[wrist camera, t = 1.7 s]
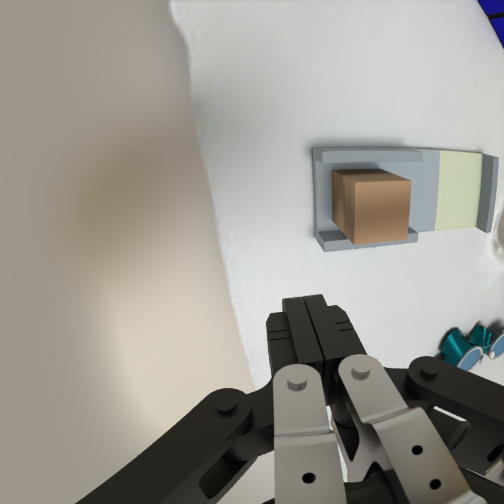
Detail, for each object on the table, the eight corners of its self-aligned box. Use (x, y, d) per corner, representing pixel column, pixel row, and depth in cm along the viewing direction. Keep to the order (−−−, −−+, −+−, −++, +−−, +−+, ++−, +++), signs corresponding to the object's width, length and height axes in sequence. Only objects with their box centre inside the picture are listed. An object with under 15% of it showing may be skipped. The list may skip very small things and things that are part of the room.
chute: (312, 148, 27) (322, 151, 24) (482, 153, 27) (501, 158, 24) (315, 238, 31) (324, 252, 27) (476, 223, 31) (493, 233, 28)
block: (331, 169, 27) (355, 182, 21) (380, 168, 27) (411, 180, 21) (332, 221, 29) (353, 245, 23) (378, 217, 29) (407, 239, 23)
